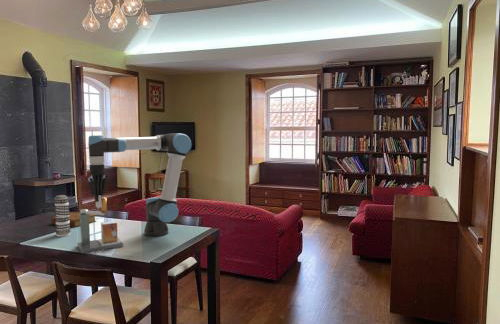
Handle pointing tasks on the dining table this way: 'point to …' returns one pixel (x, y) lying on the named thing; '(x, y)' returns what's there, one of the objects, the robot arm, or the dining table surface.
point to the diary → (75, 219)
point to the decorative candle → (62, 215)
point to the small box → (109, 231)
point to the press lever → (103, 211)
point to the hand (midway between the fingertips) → (98, 207)
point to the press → (95, 244)
